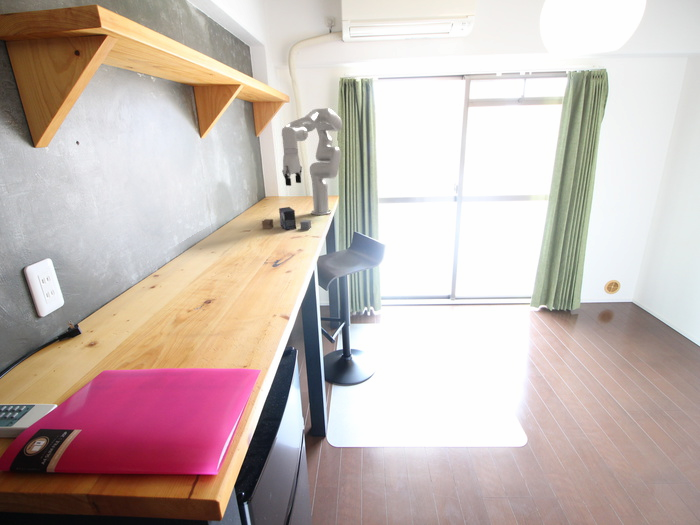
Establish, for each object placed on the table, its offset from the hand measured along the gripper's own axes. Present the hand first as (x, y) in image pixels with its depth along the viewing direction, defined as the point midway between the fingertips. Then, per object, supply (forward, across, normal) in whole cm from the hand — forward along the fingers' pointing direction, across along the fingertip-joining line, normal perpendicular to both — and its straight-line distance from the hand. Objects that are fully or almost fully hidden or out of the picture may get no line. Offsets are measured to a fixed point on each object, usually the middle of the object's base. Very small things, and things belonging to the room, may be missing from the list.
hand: (293, 184), depth 203 cm
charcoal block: (+23, +7, +10) cm, 26 cm away
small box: (+23, +8, -1) cm, 24 cm away
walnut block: (+23, +13, -11) cm, 28 cm away
